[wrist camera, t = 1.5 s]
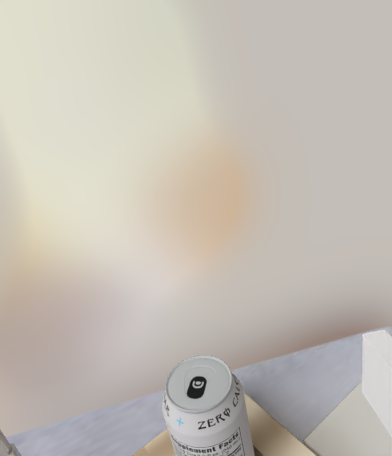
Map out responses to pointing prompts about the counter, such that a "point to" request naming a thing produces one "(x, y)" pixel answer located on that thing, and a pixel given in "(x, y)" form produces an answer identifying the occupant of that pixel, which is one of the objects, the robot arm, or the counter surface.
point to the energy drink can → (206, 409)
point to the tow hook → (9, 446)
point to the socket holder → (260, 433)
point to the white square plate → (351, 430)
